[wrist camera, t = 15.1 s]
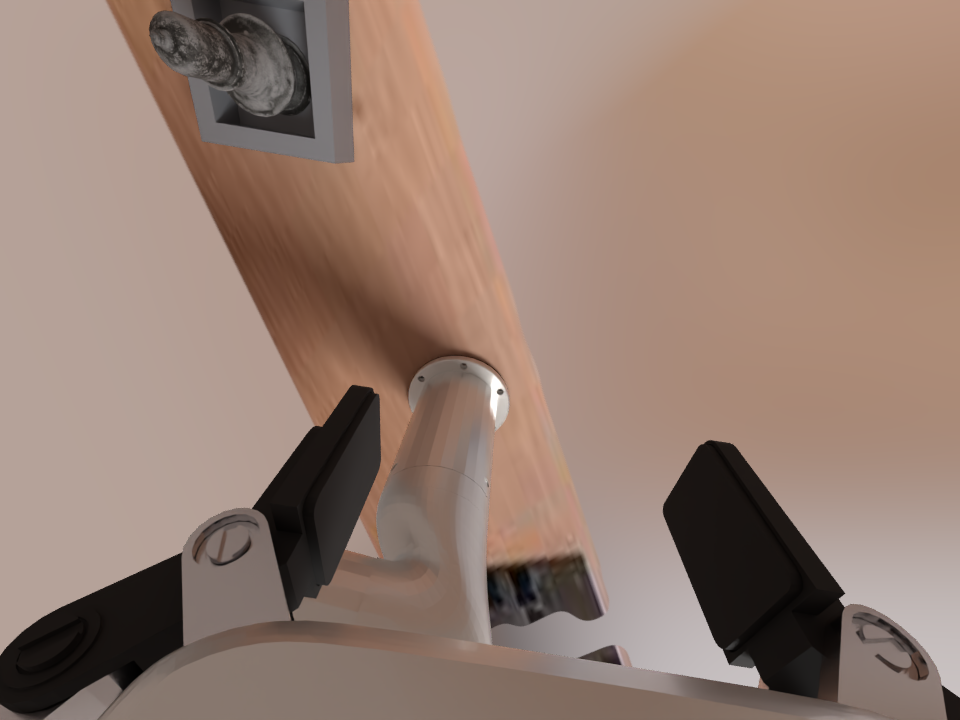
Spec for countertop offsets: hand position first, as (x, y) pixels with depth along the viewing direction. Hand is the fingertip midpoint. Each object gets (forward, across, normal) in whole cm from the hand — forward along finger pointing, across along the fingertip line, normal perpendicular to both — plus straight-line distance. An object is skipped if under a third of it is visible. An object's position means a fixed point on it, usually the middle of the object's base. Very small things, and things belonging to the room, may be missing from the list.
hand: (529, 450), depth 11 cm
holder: (+28, +22, -10) cm, 37 cm away
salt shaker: (+27, +21, -10) cm, 36 cm away
